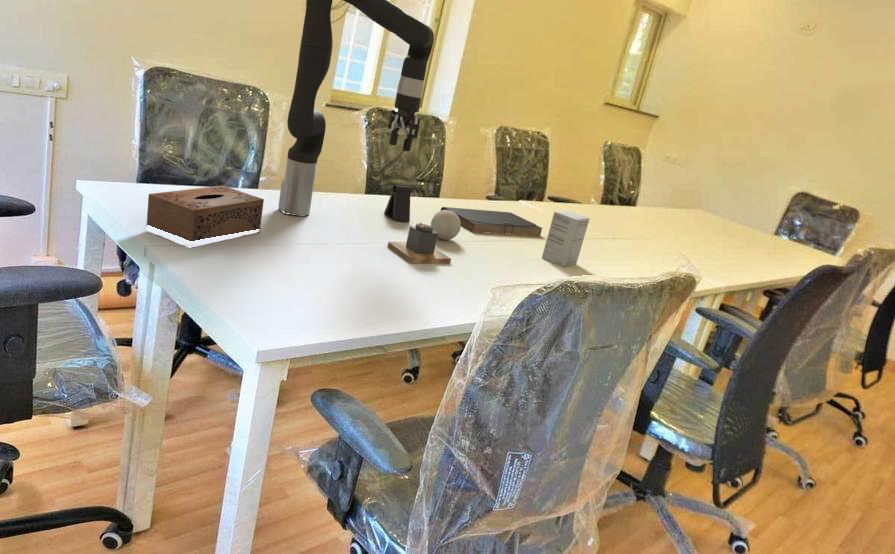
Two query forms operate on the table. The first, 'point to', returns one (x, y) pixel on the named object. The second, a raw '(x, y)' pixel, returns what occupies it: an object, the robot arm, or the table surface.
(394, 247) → the base plate
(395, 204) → the phone stand
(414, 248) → the knob
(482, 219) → the file folder
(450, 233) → the eye model
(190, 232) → the tissue box cover
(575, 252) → the supplement box
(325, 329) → the table surface
